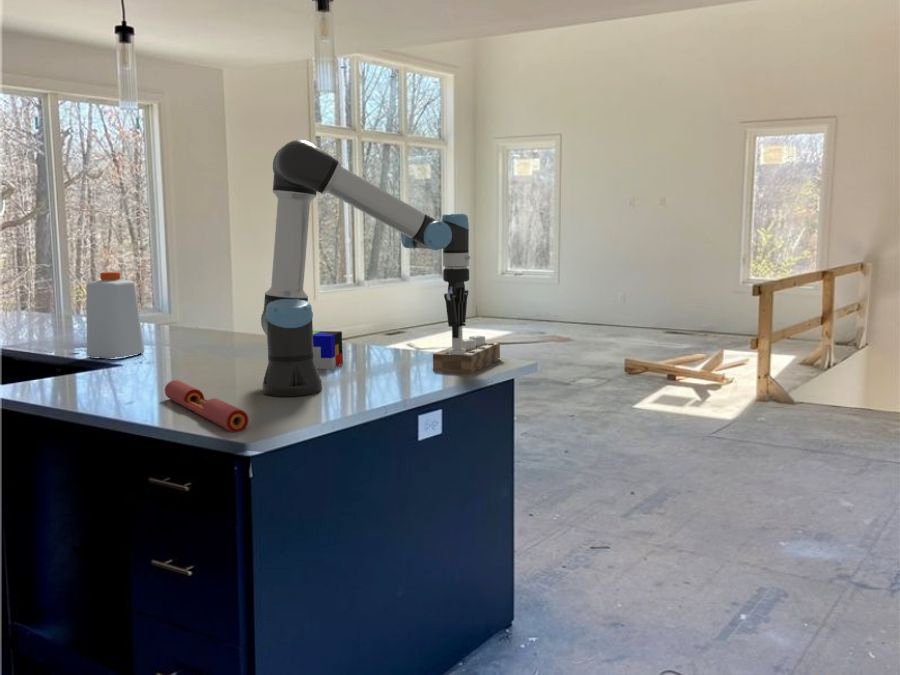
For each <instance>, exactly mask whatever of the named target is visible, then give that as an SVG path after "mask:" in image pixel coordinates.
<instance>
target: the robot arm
mask: <svg viewBox="0 0 900 675" xmlns="http://www.w3.org/2000/svg"><path fill="white" fill-rule="evenodd" d="M274 155H275V156H274V157H273V162H272V170H273V181H272V182H273V184H272V193H273V194H274V195H275V197H277V208H276V219H275V220H276V221H275V234H274V245H273V246H274V247H273V258H272V259H273V260H272V270H271V271H272V272H271V273H272V274H271V287H270V288H268V290H267V291H265V292H264V302H263V311H262V314H261V318H260V319H261V320H260V323H261V328H262V330H263V332H264V334H265V335H266V340H267V357H268V358H267V359H268V360H267V361H268V364H267V366H266V370H265V373H264V378H263V381H262V394H264V395H267V396H272V397H298V396H299V397H300V396H306V395H307V396H308V395H312V394H317V393H319V392H320V391H322V389H323V386H322V385H323V384H322V380H321V376H320V373H319V371H318V370H319V369H317V368H316V365H315V362H314V350H313V331H314V328H313V318H314V312H313V308H312V305H311V303H309V296H308V294H307V293H306V292H305V291H304V281H305V269H306V259H307V258H306V257H307V248H308V247H307V246H308V244H307V243H308V233H309V220H310V209H311V202H312V201H313V200H314V199H315V198H317V195H318V194H317V193H319V194H321V195H323V194H330V195H331V196H333V197H335V198H337V199H339V200H340V201H341V202H342V201H343V203H345V204H348V205H349V206H351V207H352V208H355V209H357V210H359V211H360V212H362V213H364V214H366V215H368V216H370V217H371V218H373V219H375V220H376V221H378V222H381V223H382V224H384V225H385V226H388V227H390V228H392V229H393V230H396V231H397V232H399V233H400V240H401V245H402V247H403V248H405V249H426V250H427V249H428V250H433V251H439V250H442V266H443V267H444V268H443V270H442V271H443V272H442V273H443V274H442V277H443V282H446V283H448V285H447V293H444V294H443V297H444V300H445V307H446V316H447V323H448V325H447V327H450V328H451V347H452V349H462V348H463V337H464V336H463V327H466V319H467V306H468V296H469V290H468V289H466V286H465V282H469V281H470V269H469V266H470V259H471V256H470V251H469V247H470V246H469V245H470V242H469V241H470V239H469V238H470V236H469V235H470V227H469V224H470V223H469V217H468V215H467V214H466V213H444V214H442V216H441V220H436V219H435V218H433V217H431V216H429V215H427V214H426V213H424V212H423V211H421V210H419V209H418V208H416V207H413V206H412V205H410V204H409V203H407V202H405V201H403V200H402V199H400V198H398V197H396V196H394V195H392V194H391V193H389V192H387V191H386V190H384V189H382V188H380V187H379V186H377V185H375V184H373V183H371V182H370V181H368V180H367V179H365V178H362V177H361V176H359V175H357V174H356V173H354V172H352V171H350V170H348V169H347V168H345V167H343V166H342V164H341V160H340V159H338V158H335V157H333V156H332V155H330V154H329V153H328V152H326V151H324V150H323V149H321V148H320V147H318V146H317V145H316V144H313V143H312V142H310V141H308V140H303V139H295V140H291V141H289V142H287V143H286V144H285V145H283V146H282V147H280V149H278V150H277V151H276V154H274Z"/></svg>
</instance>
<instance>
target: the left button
mask: <svg viewBox="0 0 900 675" xmlns="http://www.w3.org/2000/svg"><path fill="white" fill-rule="evenodd" d="M449 348H450V347H449ZM465 353H466V349H465V348H462V349H452V348H450V349H449V354H455V355H463V354H465Z"/></svg>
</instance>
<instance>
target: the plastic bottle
mask: <svg viewBox="0 0 900 675" xmlns="http://www.w3.org/2000/svg"><path fill="white" fill-rule="evenodd" d="M99 276H100V277H99V278H100V279H99V280H94V281H91V282H90V281H89V282H88V283H87V284H86V288H85V290H86V297H85V298H86V302H85V304H86V306H85V307H86V308H85V309H86V310H85V311H86V356H87V357H88V356H90V357H99V358H115V357H124V356H129V355H134V354H140V353H143V354H144V352H145V346H144V339H143V338H144V337H143V331H142V325H141V324H142V323H141V319H140V309H139V304H138V297H137V289H136V284H135V282H134V281H133V280H130V279H121V273H120V272H119V271H104V272H103V271H102V272H100V274H99Z"/></svg>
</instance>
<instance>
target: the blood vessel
mask: <svg viewBox="0 0 900 675" xmlns="http://www.w3.org/2000/svg"><path fill="white" fill-rule="evenodd" d="M164 394H165V396H166V397H167V398H168V399H169V398H170V399H169V400H172V402H175V403H176V404H178V403H179V405H180V404H181V405H180V406H182V407H184V408H186V409H188V410H190V411H191V410H192V412H193V411H194V413H195V414H197V415H199V416H201V417H203V418H205V419H206V418H207V419H206V420H209V421H211V422H212V423H214V424H216V425H217V426H219V427H220V428H224V429H225V430H227V431H229V432H231V433H237V432H243V431H244V430H245V429H247V427H248V425H249V416H248V414H247V412H246V411H245V410H243V409H241V408H238V407H236V406H234V405H232V404H229V403H228V402H225V401H224V400H221V399H219V398H217V397H216V398H215V397H214V398H210V399H208V400H207V399H206V398H205V396H204V394H203V392H202V391H201V390H199V388H198V389H197V388H195V387H193V386H191V385H189V384H186V383H184V382H182V381H181V380H179V379H178V380H177V379H176V380H174V379H173V380H171V381H168V382H167V384H166V385H165V388H164Z"/></svg>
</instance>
